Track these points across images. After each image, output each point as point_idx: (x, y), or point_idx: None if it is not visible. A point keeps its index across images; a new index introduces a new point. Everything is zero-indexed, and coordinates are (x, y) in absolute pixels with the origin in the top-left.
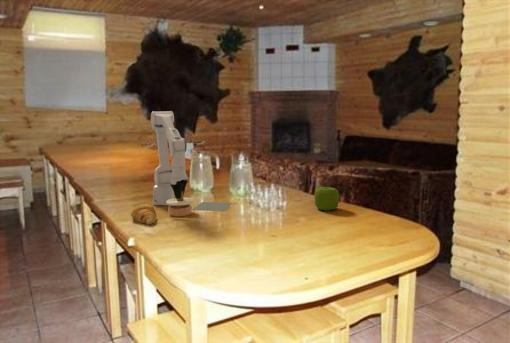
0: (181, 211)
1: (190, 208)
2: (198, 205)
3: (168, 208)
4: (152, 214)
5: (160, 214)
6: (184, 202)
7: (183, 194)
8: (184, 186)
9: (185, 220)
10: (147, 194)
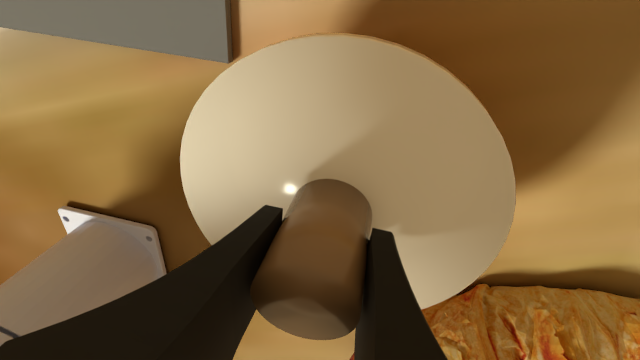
0: None
1: None
2: (86, 31)
3: None
4: (613, 347)
5: None
6: (451, 155)
7: (269, 223)
8: (197, 315)
9: (601, 63)
10: None
